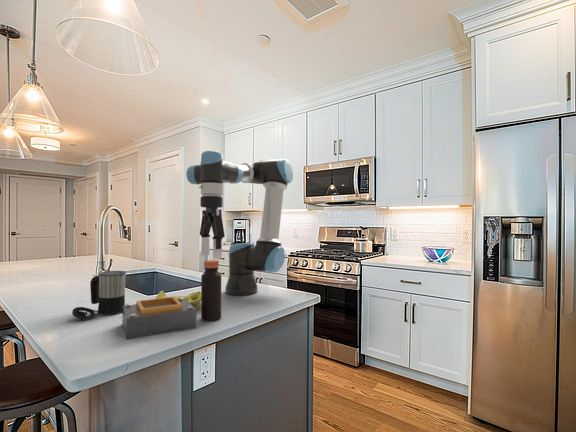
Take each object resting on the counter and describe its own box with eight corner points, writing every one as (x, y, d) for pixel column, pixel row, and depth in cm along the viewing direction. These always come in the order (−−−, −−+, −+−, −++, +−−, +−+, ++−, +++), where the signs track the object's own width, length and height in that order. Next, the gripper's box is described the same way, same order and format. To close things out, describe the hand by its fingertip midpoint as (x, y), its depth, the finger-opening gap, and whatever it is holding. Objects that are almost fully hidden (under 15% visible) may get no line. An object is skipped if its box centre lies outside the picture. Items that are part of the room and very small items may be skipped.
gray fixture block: (184, 314, 116) (184, 294, 116) (196, 327, 103) (196, 304, 103) (122, 324, 106) (122, 301, 106) (126, 339, 92) (126, 313, 92)
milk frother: (130, 308, 125) (130, 270, 125) (108, 321, 109) (108, 277, 109) (93, 308, 124) (93, 270, 124) (65, 321, 109) (66, 277, 109)
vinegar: (216, 322, 108) (216, 262, 108) (197, 321, 109) (198, 262, 110) (224, 316, 115) (224, 260, 115) (206, 315, 116) (206, 259, 116)
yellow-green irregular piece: (150, 304, 122) (162, 287, 131) (156, 319, 125) (168, 302, 134) (199, 302, 119) (208, 285, 128) (204, 318, 122) (213, 300, 131)
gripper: (191, 197, 121) (190, 254, 121) (212, 192, 100) (211, 261, 99) (211, 198, 125) (210, 253, 125) (235, 194, 104) (234, 260, 103)
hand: (211, 257), depth 112 cm, fingers open, 13 cm apart
